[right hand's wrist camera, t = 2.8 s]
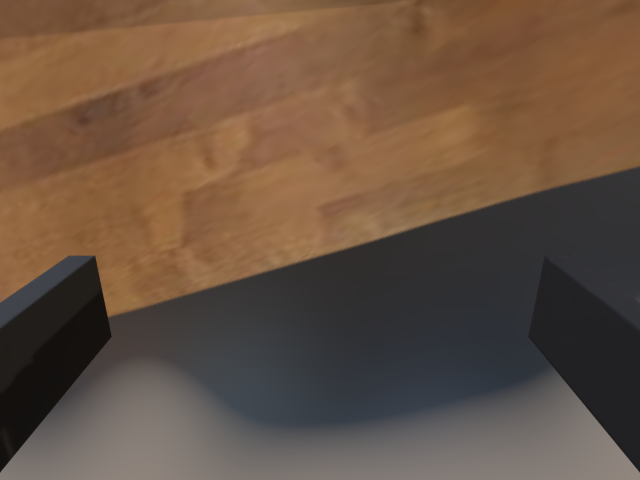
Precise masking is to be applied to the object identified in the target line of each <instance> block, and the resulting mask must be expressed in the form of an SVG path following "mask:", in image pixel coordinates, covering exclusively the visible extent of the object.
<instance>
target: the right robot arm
mask: <svg viewBox="0 0 640 480" xmlns="http://www.w3.org/2000/svg"><path fill="white" fill-rule="evenodd" d="M110 338H111V331H110V327H109V322H108V317H107V312H106V307H105V302H104V297H103V292H102V287H101V282H100V278H99V273H98V268H97V263H96V258H95V256H68V257H66V258H65V259H63V260H62V261H61V262H59V263H58V264H56V265H55V266H53V267H52V268H50V269H49V270H47V271H46V272H45V273H43V274H42V275H40V276H39V277H37V278H36V279H34V280H33V281H32V282H30V283H29V284H27V285H26V286H24V287H23V288H21V289H20V290H18V291H17V292H16V293H14V294H13V295H11V296H10V297H8V298H7V299H5V300H4V301H2V302H1V303H0V472H1V471H2V469H3V468H4V467H5V466H6V465H7V463H8V462H9V461H10V460H11V459H12V457H13V456H14V455H15V454H16V452H17V451H18V450H19V449H20V448H21V446H22V445H23V444H24V443H25V441H26V440H27V439H28V438H29V437H30V435H31V434H32V433H33V432H34V430H35V429H36V428H37V427H38V426H39V424H40V423H41V422H42V421H43V420H44V418H45V417H46V416H47V415H48V413H49V412H50V411H51V410H52V409H53V407H54V406H55V405H56V404H57V402H58V401H59V400H60V399H61V398H62V396H63V395H64V394H65V393H66V391H67V390H68V389H69V388H70V387H71V385H72V384H73V383H74V382H75V381H76V379H77V378H78V377H79V376H80V374H81V373H82V372H83V371H84V370H85V368H86V367H87V366H88V365H89V363H90V362H91V361H92V360H93V359H94V357H95V356H96V355H97V354H98V353H99V351H100V350H101V349H102V348H103V346H104V345H105V344H106V343H107V342H108V340H109V339H110ZM529 338H530V339H531V340H532V342H533V343H534V344H535V345H536V346H537V348H538V349H539V350H540V351H541V353H542V354H543V355H544V356H545V357H546V359H547V360H548V361H549V362H550V364H551V365H552V366H553V367H554V368H555V370H556V371H557V372H558V373H559V374H560V376H561V377H562V378H563V379H564V381H565V382H566V383H567V384H568V385H569V387H570V388H571V389H572V390H573V392H574V393H575V394H576V395H577V396H578V398H579V399H580V400H581V401H582V402H583V404H584V405H585V406H586V407H587V409H588V410H589V411H590V412H591V413H592V415H593V416H594V417H595V418H596V420H597V421H598V422H599V423H600V424H601V426H602V427H603V428H604V429H605V430H606V432H607V433H608V434H609V435H610V437H611V438H612V439H613V440H614V441H615V443H616V444H617V445H618V446H619V448H620V449H621V450H622V451H623V452H624V454H625V455H626V456H627V457H628V458H629V460H630V461H631V462H632V463H633V465H634V466H635V467H636V468H637V469H638V471H639V472H640V303H639V302H638V301H636V300H635V299H633V298H632V297H630V296H629V295H627V294H626V293H624V292H623V291H621V290H620V289H619V288H617V287H616V286H614V285H613V284H611V283H610V282H608V281H607V280H606V279H604V278H603V277H601V276H600V275H598V274H597V273H595V272H594V271H592V270H591V269H590V268H588V267H587V266H585V265H584V264H582V263H581V262H579V261H578V260H576V259H575V258H574V257H572V256H545V258H544V263H543V268H542V273H541V278H540V283H539V287H538V292H537V297H536V302H535V307H534V312H533V317H532V322H531V327H530V331H529Z"/></svg>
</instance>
